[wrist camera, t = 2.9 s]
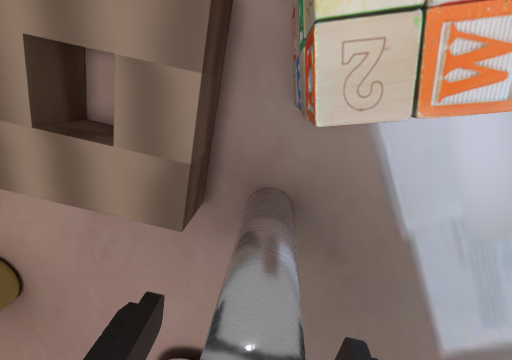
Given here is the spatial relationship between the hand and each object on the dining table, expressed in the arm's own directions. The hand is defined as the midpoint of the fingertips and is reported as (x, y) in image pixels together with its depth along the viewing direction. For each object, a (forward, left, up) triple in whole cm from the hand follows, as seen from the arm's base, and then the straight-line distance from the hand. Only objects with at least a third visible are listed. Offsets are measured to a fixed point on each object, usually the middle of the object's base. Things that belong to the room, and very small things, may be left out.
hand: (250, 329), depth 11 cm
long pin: (0, 0, -12) cm, 12 cm away
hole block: (+14, -7, -12) cm, 20 cm away
